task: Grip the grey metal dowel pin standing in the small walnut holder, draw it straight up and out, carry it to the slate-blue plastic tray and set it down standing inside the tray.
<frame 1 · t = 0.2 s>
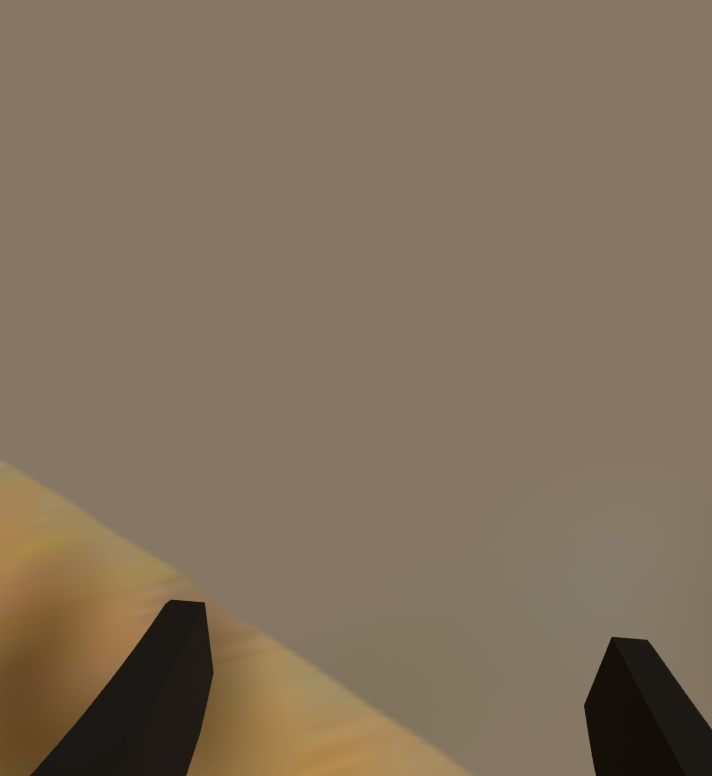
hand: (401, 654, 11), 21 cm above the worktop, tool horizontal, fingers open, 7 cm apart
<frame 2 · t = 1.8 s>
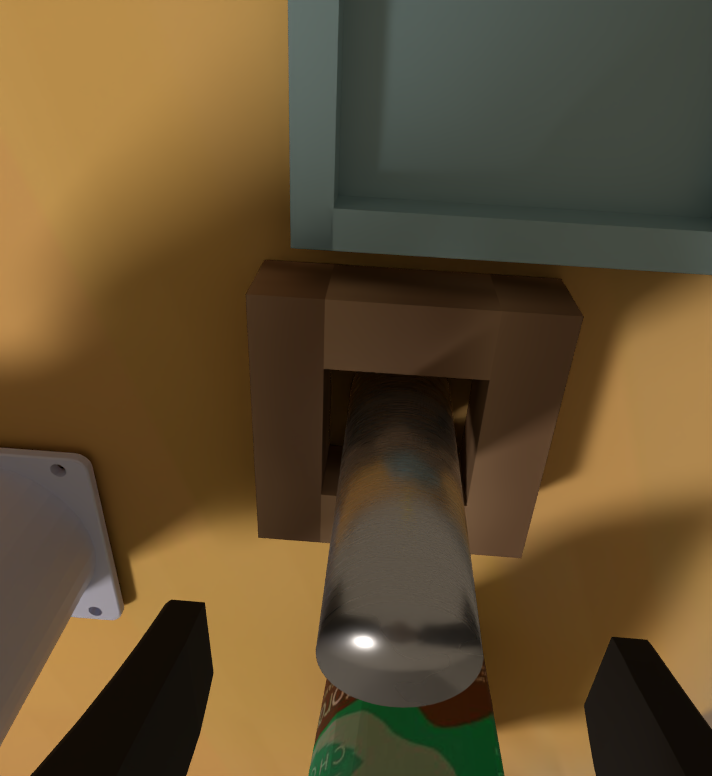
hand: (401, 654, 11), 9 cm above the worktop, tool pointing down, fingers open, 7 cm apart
holder: (399, 394, 19), on the worktop
tray: (542, 66, 14), on the worktop
pin: (399, 492, 15), in the holder
food container: (373, 670, 26), on the worktop
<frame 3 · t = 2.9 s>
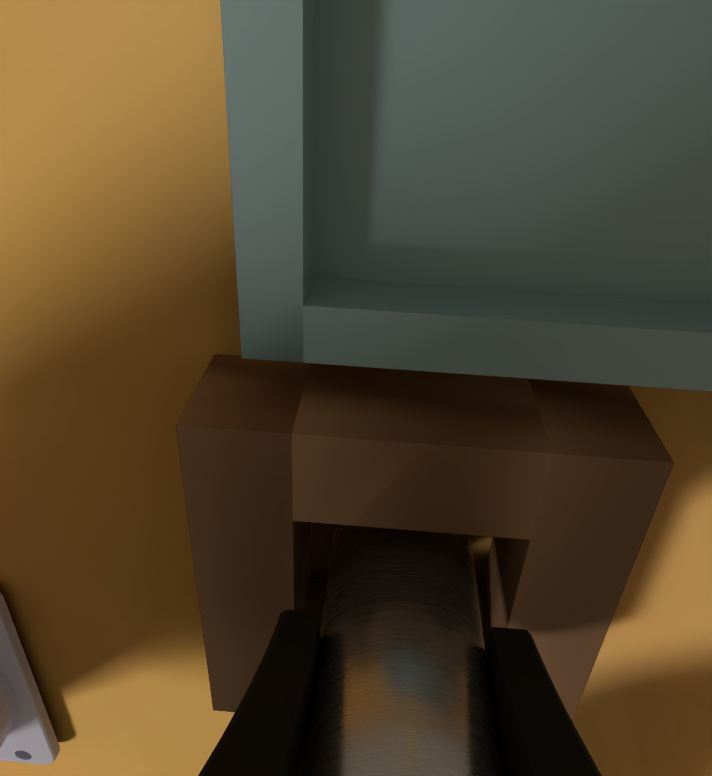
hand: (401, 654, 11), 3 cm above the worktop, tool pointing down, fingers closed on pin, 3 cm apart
holder: (401, 522, 14), on the worktop
tray: (617, 93, 9), on the worktop
pin: (400, 712, 10), in the holder, touching gripper
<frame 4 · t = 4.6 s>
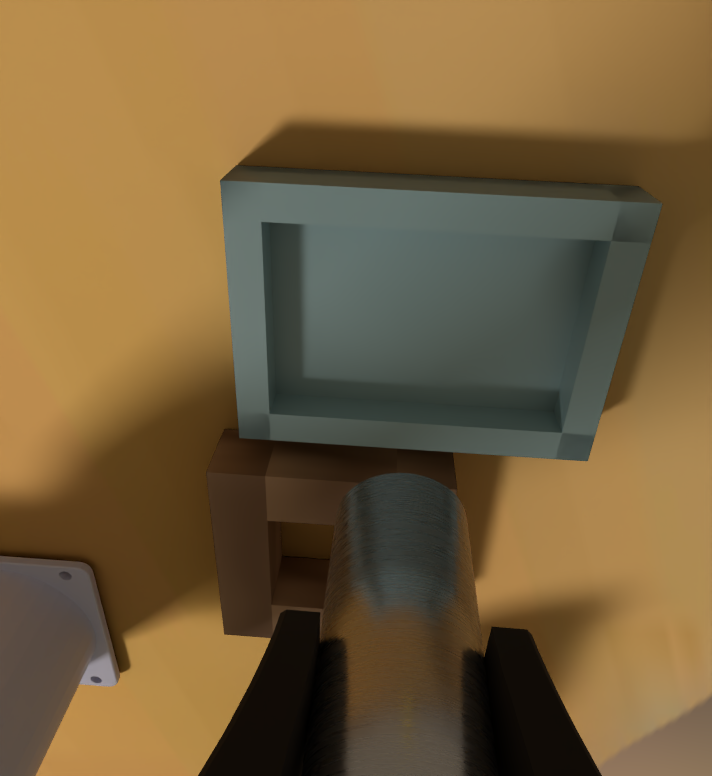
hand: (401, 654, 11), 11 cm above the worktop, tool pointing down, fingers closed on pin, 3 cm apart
holder: (335, 521, 24), on the worktop
tray: (421, 309, 19), on the worktop
pin: (399, 715, 10), point 12 cm above the worktop, touching gripper
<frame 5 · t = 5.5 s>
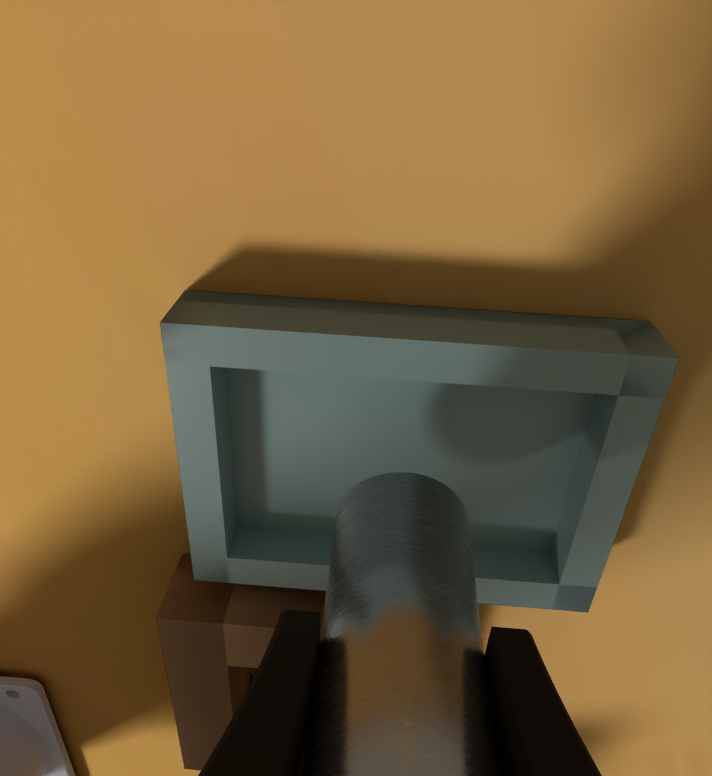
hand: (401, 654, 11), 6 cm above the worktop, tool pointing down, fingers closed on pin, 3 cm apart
holder: (307, 645, 22), on the worktop
tray: (401, 442, 17), on the worktop
pin: (400, 714, 10), point 8 cm above the worktop, touching gripper
when the fingers open (5 cm above the worktop, at t = 6.1 s): pin stays where it is, resting on tray.
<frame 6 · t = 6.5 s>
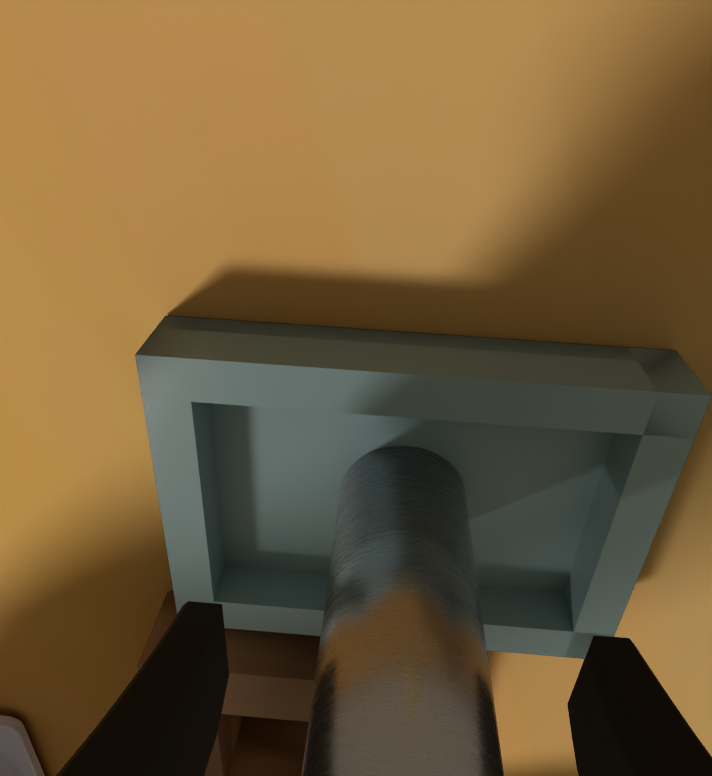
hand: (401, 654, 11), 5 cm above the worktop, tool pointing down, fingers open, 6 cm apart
holder: (302, 685, 20), on the worktop
tray: (402, 477, 15), on the worktop
pin: (402, 659, 11), in the tray, point 5 cm above the worktop
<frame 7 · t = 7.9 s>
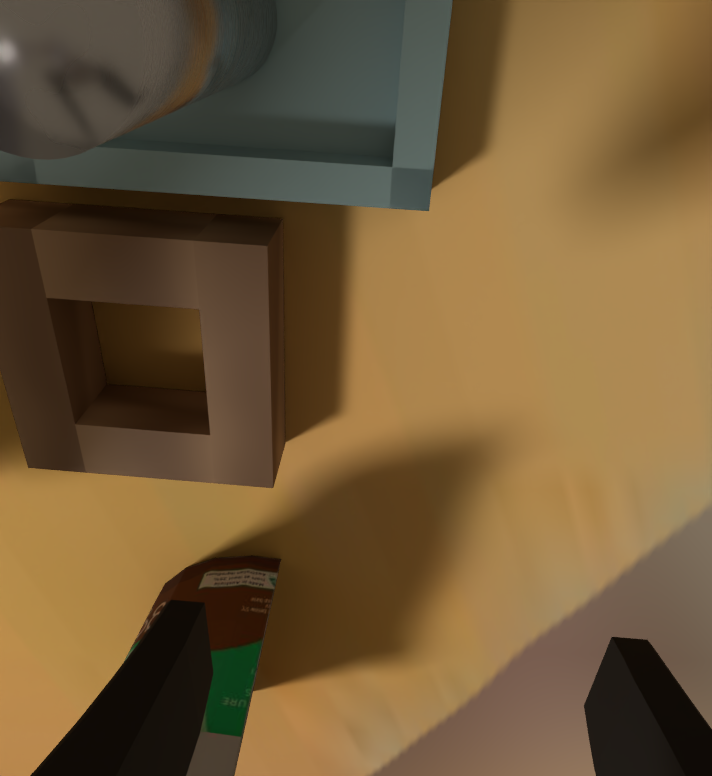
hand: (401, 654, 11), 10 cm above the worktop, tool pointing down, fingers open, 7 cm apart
holder: (160, 333, 20), on the worktop
tray: (220, 11, 15), on the worktop
pin: (148, 17, 11), in the tray, point 5 cm above the worktop
food container: (198, 614, 28), on the worktop
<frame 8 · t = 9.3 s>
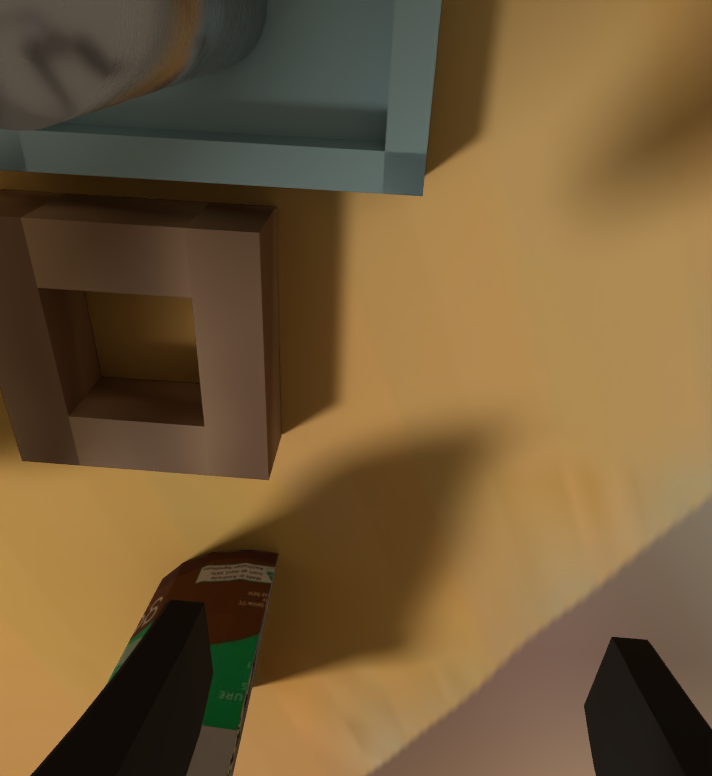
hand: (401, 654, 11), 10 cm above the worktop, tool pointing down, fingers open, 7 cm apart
holder: (154, 324, 20), on the worktop
food container: (196, 609, 27), on the worktop
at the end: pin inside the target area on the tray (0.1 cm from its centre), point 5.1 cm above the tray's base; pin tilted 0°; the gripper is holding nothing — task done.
